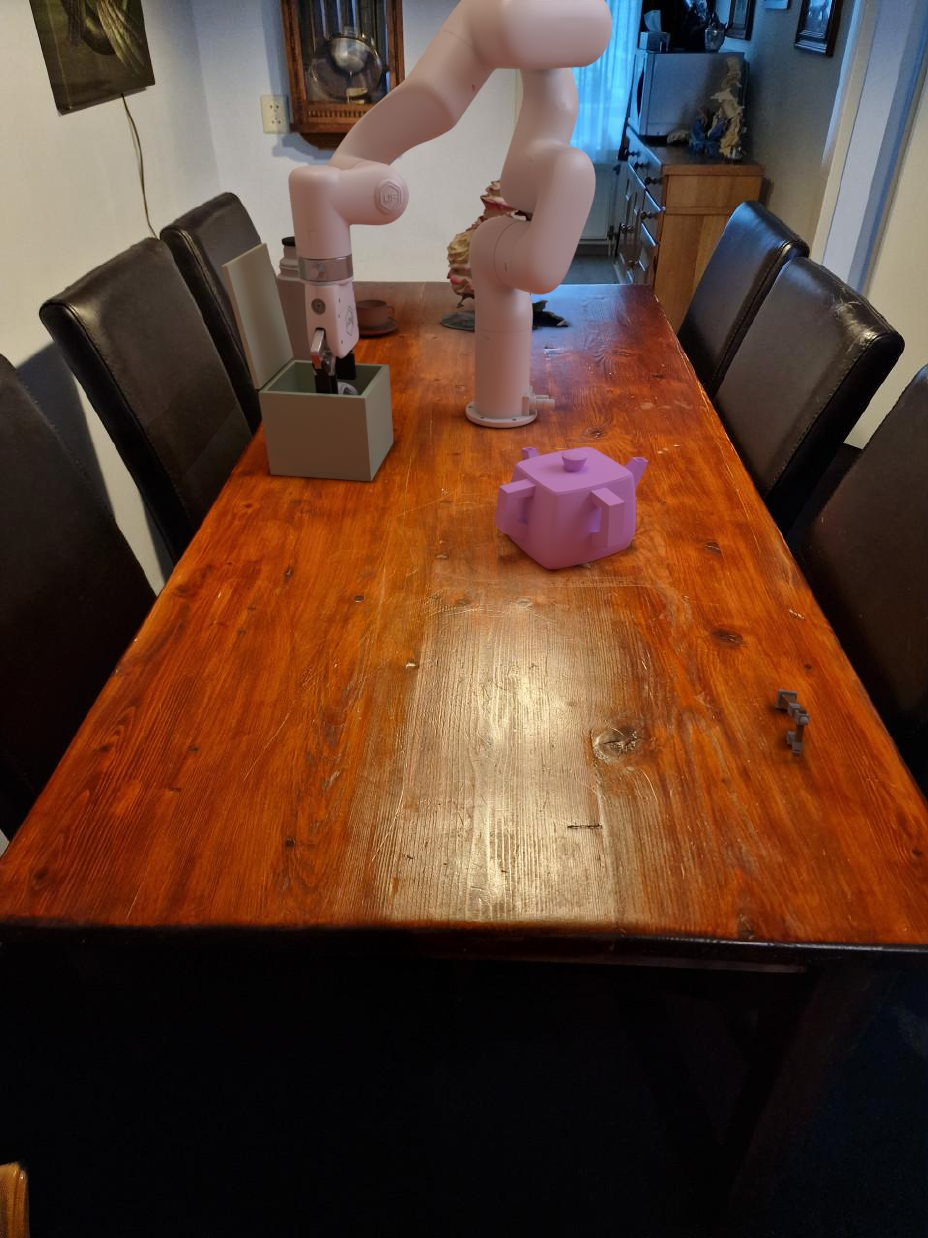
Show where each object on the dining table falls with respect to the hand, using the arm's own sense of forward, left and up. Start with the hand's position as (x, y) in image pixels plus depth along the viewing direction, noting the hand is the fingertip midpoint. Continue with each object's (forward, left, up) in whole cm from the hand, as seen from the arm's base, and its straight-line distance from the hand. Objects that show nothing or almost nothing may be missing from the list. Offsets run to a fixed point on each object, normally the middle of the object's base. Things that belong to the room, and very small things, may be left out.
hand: (337, 389), depth 123 cm
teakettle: (-36, +20, -11) cm, 43 cm away
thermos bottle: (+12, -22, -11) cm, 27 cm away
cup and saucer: (+13, -68, -11) cm, 70 cm away
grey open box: (+2, 0, -11) cm, 11 cm away
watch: (0, 0, -10) cm, 10 cm away
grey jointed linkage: (-59, +54, -11) cm, 81 cm away
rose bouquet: (-14, -80, -11) cm, 82 cm away
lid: (+10, 0, +11) cm, 15 cm away
